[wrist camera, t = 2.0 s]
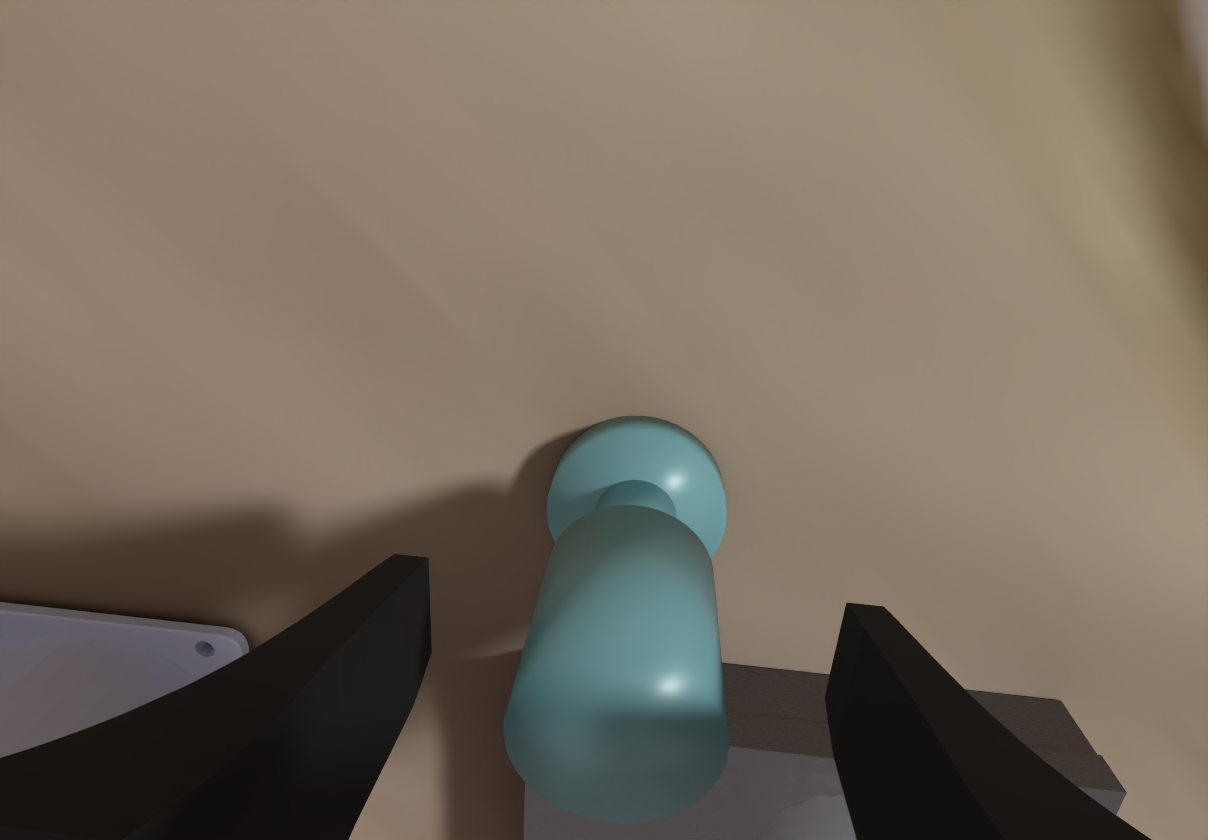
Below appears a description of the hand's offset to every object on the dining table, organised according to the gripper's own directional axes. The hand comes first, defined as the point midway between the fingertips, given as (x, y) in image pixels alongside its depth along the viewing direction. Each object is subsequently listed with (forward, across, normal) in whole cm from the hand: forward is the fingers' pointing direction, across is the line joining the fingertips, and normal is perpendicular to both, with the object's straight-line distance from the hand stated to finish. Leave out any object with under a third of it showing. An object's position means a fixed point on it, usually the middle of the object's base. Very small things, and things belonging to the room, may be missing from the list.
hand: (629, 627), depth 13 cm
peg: (+5, 0, 0) cm, 5 cm away
